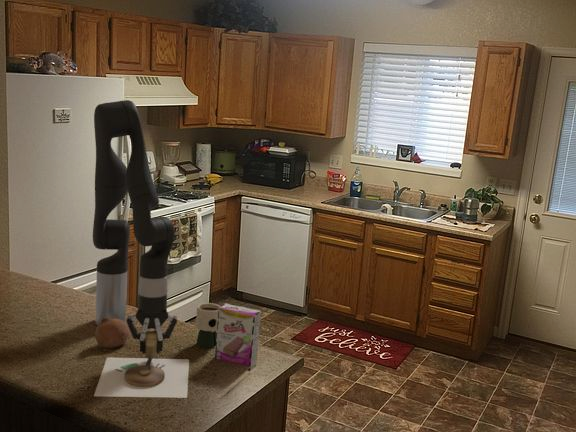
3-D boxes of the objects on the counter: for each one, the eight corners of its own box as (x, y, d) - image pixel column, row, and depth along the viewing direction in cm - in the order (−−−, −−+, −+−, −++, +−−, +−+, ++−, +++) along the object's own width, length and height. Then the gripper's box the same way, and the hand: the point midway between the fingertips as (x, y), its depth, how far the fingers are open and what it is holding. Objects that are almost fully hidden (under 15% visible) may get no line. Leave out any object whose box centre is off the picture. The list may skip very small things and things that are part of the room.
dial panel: (106, 362, 174) (107, 356, 174) (188, 364, 177) (189, 358, 177) (93, 401, 153) (93, 395, 153) (186, 403, 156) (187, 396, 156)
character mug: (203, 358, 182) (206, 314, 180) (185, 350, 186) (187, 308, 184) (227, 347, 191) (230, 305, 189) (209, 340, 195) (211, 299, 193)
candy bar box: (213, 363, 180) (217, 307, 176) (221, 356, 184) (225, 302, 181) (250, 371, 176) (255, 315, 173) (257, 365, 181) (261, 309, 178)
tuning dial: (161, 387, 159) (163, 355, 158) (120, 385, 159) (122, 353, 157) (170, 359, 176) (171, 330, 174) (133, 357, 175) (134, 328, 173)
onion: (98, 357, 184) (84, 325, 183) (125, 341, 190) (112, 310, 189) (112, 357, 177) (97, 324, 176) (140, 340, 183) (126, 309, 182)
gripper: (179, 287, 175) (177, 346, 178) (126, 286, 172) (125, 347, 176) (180, 296, 168) (177, 358, 171) (124, 296, 165) (123, 358, 168)
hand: (151, 352), depth 173 cm, fingers closed on tuning dial, 3 cm apart
